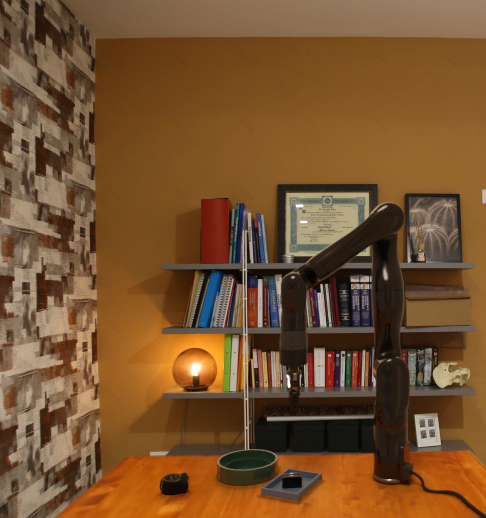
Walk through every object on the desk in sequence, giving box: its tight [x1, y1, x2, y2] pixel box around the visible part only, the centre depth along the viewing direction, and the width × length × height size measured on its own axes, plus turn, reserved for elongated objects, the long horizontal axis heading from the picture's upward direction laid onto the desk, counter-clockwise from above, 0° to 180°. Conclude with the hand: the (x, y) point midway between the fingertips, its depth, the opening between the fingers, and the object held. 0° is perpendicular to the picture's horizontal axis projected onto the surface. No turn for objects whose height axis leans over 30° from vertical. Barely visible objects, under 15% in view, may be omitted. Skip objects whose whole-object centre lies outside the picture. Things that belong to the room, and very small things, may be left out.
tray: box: [260, 467, 323, 502], centre depth 127 cm, size 10×14×2 cm
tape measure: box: [159, 472, 190, 496], centre depth 124 cm, size 7×7×4 cm
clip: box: [282, 472, 302, 489], centre depth 127 cm, size 5×2×3 cm, turn 100°
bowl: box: [216, 448, 279, 487], centre depth 135 cm, size 16×16×4 cm
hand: (293, 407), depth 132 cm, fingers open, 8 cm apart
